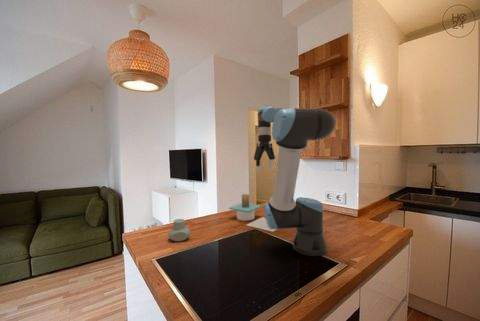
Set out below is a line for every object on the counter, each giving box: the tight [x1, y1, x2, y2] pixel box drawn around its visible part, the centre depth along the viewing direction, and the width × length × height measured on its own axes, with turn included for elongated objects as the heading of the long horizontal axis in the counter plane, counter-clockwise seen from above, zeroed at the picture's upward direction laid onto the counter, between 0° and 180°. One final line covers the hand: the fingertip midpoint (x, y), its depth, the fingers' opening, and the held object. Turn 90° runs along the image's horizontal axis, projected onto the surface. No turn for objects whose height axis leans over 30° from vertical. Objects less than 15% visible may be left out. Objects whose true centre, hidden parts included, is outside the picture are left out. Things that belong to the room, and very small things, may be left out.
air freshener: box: [168, 218, 191, 242], centre depth 113 cm, size 11×8×10 cm
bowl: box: [236, 210, 256, 222], centre depth 146 cm, size 12×12×7 cm
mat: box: [246, 216, 278, 232], centre depth 134 cm, size 19×19×1 cm
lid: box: [228, 193, 263, 213], centre depth 146 cm, size 16×16×9 cm
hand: (265, 170), depth 127 cm, fingers open, 13 cm apart
